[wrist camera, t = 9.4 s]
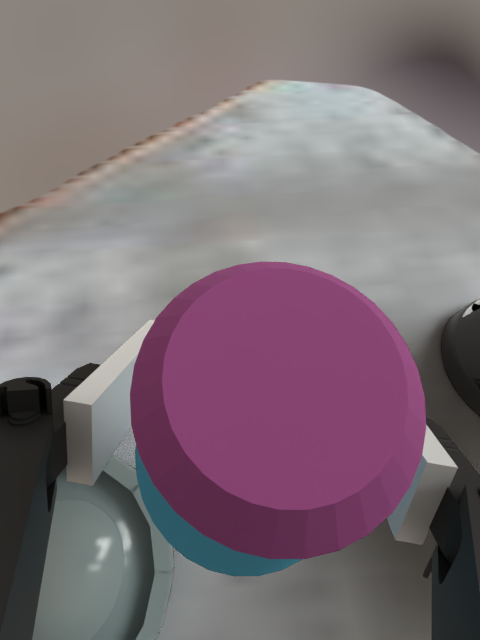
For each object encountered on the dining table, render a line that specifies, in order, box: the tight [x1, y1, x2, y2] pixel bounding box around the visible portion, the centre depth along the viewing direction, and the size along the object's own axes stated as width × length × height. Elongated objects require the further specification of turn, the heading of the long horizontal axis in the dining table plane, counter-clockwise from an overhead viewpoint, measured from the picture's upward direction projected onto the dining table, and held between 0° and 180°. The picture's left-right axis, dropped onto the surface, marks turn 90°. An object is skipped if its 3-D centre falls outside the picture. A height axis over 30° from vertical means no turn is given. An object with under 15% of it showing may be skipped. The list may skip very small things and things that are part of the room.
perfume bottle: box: [130, 262, 426, 576], centre depth 11 cm, size 9×9×15 cm
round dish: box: [32, 456, 174, 640], centre depth 25 cm, size 17×17×2 cm
